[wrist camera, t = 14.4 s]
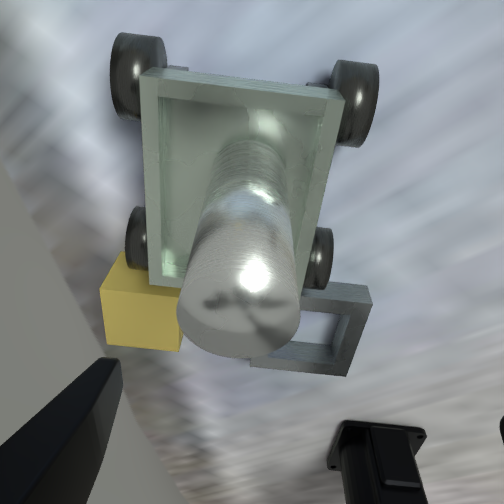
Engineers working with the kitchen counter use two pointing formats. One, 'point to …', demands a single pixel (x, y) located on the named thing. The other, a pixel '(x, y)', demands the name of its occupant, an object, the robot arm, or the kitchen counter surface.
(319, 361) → the socket
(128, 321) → the block
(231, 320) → the pin
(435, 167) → the kitchen counter surface
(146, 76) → the trolley
